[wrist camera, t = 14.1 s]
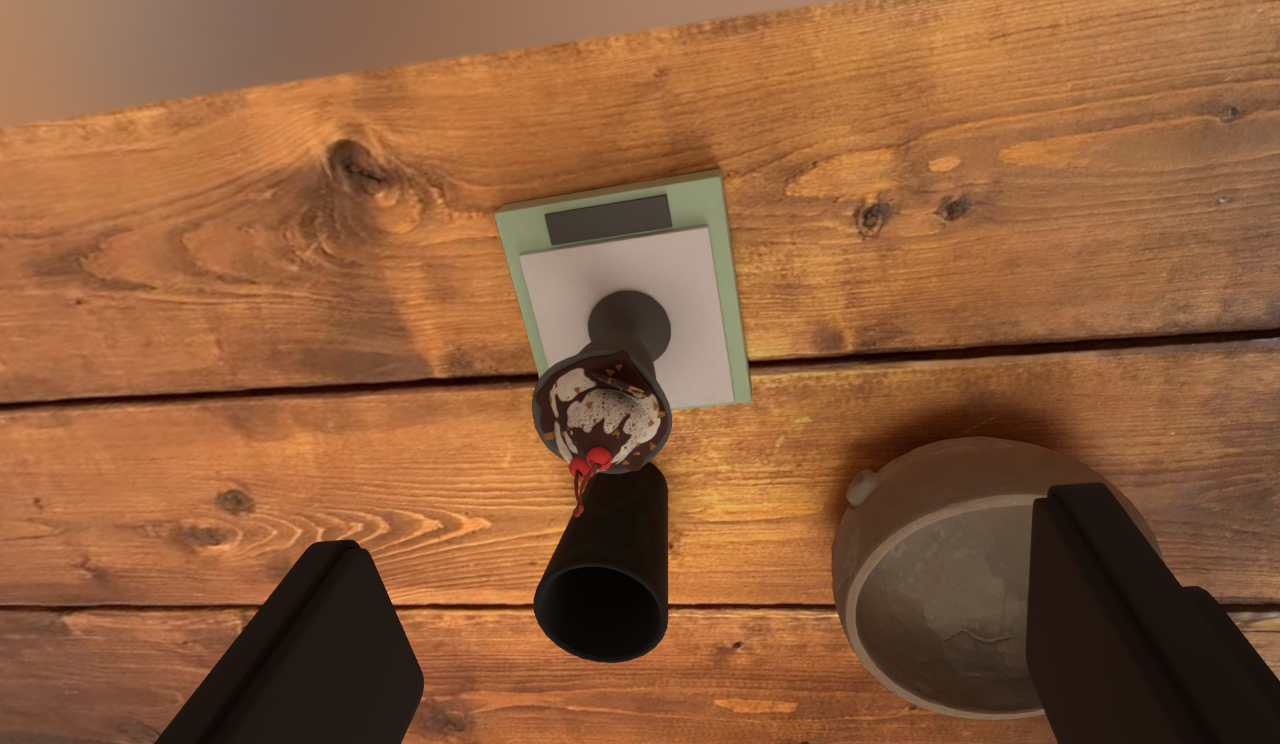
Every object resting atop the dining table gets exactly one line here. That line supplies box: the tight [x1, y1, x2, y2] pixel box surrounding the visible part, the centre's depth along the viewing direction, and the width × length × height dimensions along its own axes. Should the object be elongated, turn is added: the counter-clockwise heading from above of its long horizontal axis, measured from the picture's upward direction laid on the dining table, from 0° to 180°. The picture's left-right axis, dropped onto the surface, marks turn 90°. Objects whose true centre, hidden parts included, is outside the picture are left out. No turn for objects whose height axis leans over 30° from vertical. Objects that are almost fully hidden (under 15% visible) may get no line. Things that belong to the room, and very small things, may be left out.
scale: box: [494, 169, 752, 410], centre depth 44 cm, size 14×13×3 cm
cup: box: [534, 462, 668, 663], centre depth 47 cm, size 8×8×12 cm
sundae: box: [532, 291, 672, 517], centre depth 37 cm, size 7×7×15 cm
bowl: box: [832, 436, 1164, 720], centre depth 45 cm, size 17×18×10 cm
